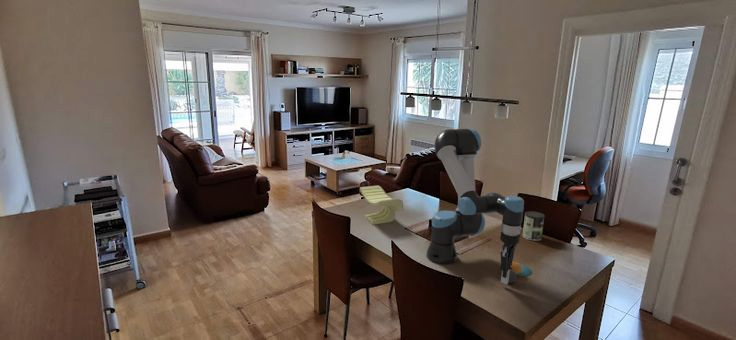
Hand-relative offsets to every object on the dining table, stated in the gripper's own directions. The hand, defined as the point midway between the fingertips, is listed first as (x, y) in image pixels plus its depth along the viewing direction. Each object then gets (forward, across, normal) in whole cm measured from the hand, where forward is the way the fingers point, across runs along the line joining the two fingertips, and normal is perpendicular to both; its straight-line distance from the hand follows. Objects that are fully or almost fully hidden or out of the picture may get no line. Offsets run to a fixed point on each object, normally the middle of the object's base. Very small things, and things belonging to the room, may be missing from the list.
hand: (504, 282), depth 160 cm
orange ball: (-1, +15, 0) cm, 15 cm away
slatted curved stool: (+2, +27, +88) cm, 93 cm away
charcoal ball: (-1, +6, 0) cm, 6 cm away
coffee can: (+2, +64, +6) cm, 64 cm away
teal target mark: (+2, +20, 0) cm, 20 cm away
